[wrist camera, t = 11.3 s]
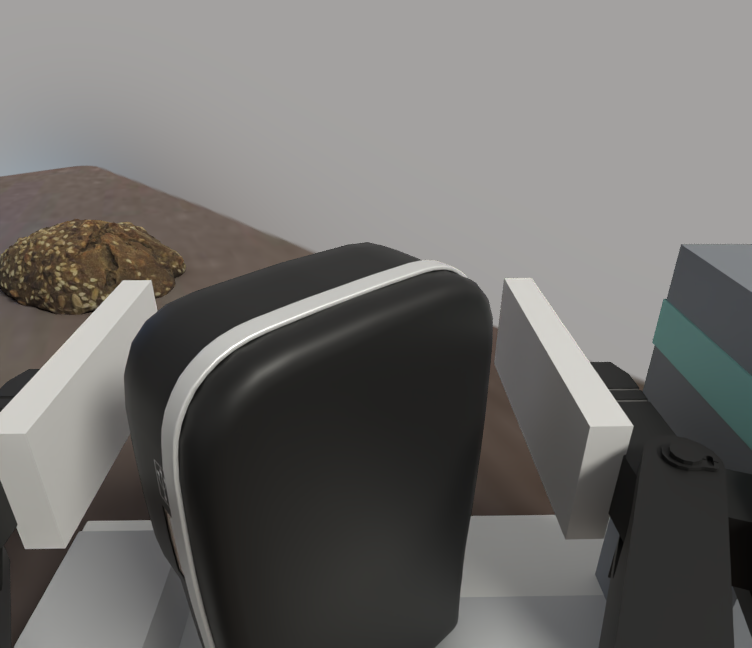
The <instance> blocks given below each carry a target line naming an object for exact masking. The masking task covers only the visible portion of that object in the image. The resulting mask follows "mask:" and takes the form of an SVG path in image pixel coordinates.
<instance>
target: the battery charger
mask: <svg viewBox="0 0 752 648" xmlns="http://www.w3.org/2000/svg"><path fill="white" fill-rule="evenodd" d="M492 320H493V318H492V313H491V309H490V304H489V300H488V298H487V297H486V295H485V294H484V293H483V291H482V290H481V289H480V288H479V286H478V285H477V284H476V283H475V282H474V281H472V280H470V279H468V278H467V276H466V275H464V273H462V272H461V271H460V270H458V269H456V268H454V267H452V266H450V265H447V264H444V263H442V262H439V261H434V260H420V259H418V258H415V257H413V256H410V255H408V254H405V253H403V252H400V251H397V250H394V249H391V248H388V247H385V246H382V245H377V244H372V243H368V242H366V243H359V244H350V245H345V246H341V247H338V248H334V249H330V250H326V251H323V252H319V253H315V254H312V255H308V256H304V257H301V258H297V259H293V260H290V261H286V262H282V263H279V264H276V265H273V266H270V267H267V268H264V269H261V270H258V271H255V272H252V273H249V274H246V275H243V276H240V277H237V278H234V279H231V280H228V281H225V282H222V283H219V284H216V285H213V286H210V287H207V288H204V289H201V290H198V291H195V292H192V293H190V294H188V295H186V296H184V297H181V298H179V299H177V300H175V301H173V302H170V303H168V304H166V305H165V306H164V307H162V308H161V309H160V310H159V311H157V312H156V313H155V314H154V315H152V316H151V317H150V318H149V319H147V320H146V321H145V323H144V324H143V326H142V327H141V329H140V330H139V332H138V333H137V335H136V336H135V338H134V339H133V341H132V343H131V347H130V351H129V355H128V359H127V363H126V367H125V372H124V391H125V408H126V414H127V419H128V424H129V429H130V434H131V439H132V444H133V449H134V453H135V458H136V463H137V467H138V472H139V476H140V480H141V485H142V489H143V493H144V498H145V501H146V505H147V508H148V512H149V516H150V519H151V523H152V526H153V530H154V534H155V537H156V539H157V541H158V544H159V546H160V548H161V550H162V552H163V554H164V556H165V557H166V559H167V560H168V562H169V563H170V565H171V566H172V568H173V569H174V571H175V572H176V573H177V575H178V576H179V578H180V579H181V583H182V586H183V589H184V592H185V596H186V599H187V602H188V605H189V608H190V611H191V615H192V618H193V621H194V624H195V627H196V630H197V633H198V636H199V639H200V642H201V645H202V647H203V648H435V647H436V646H437V645H438V644H439V643H440V642H441V641H442V640H443V639H444V638H445V637H446V636H447V635H448V634H449V633H450V632H452V631H453V629H454V628H455V627H456V625H457V623H458V616H459V603H460V591H461V583H462V574H463V564H464V556H465V549H466V542H467V536H468V530H469V524H470V518H471V512H472V505H473V499H474V492H475V486H476V479H477V473H478V466H479V459H480V452H481V444H482V437H483V429H484V421H485V412H486V403H487V393H488V383H489V373H490V363H491V352H492V331H493V321H492Z"/></svg>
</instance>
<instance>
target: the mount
mask: <svg viewBox="0 0 752 648" xmlns="http://www.w3.org/2000/svg"><path fill="white" fill-rule="evenodd" d="M653 344H654V345H655V346H654V350H653V354H652V358H651V362H650V366H649V369H648V373H647V377H646V381H645V385H644V388H643V393H644V394H645V396H646V397H647V398H648V402H651V403H652V405H653V406H654V407H655V409H656V410H657V411H658V412H659V414H660V415H661V416H662V418H663V419H664V420H665V421H666V423H667V424H668V425H669V427H670V428H671V429H672V430H673V432H674V433H675V434H676V436H678V437H684V438H687V439H690V440H693V441H695V442H698V443H700V444H702V445H704V446H705V447H707V448H709V449H710V450H712V451H713V452H714V453H715V454H716V455H717V456H718V457H719V458H720V459H721V460H722V461H723V464H724V466H725V468H726V469H730V470H733V471H738V472H743V473H748V474H752V244H681V247H680V251H679V255H678V258H677V262H676V266H675V270H674V274H673V278H672V282H671V285H670V289H669V293H668V297H667V299H664V300H663V303H662V308H661V311H660V315H659V319H658V323H657V327H656V331H655V335H654V338H653ZM618 538H619V533H618V531H617V529H616V527H615V525H614V523H613V521H612V519H611V518H609V521H608V525H607V529H606V533H605V537H604V539H570V540H565V538H564V535H563V533H562V530H561V528H560V525H559V523H558V520H557V518H556V515H514V516H471V518H470V524H469V530H468V536H467V542H466V549H465V556H464V564H463V574H462V583H461V591H460V603H459V616H458V623H457V625H456V627H455V628H454V629H453V631H452V632H450V633H449V634H448V635H447V636H446V637H445V638H444V639H443V640H442V641H441V642H440V643H439V644H438V645H437V646H436V647H435V648H599V642H600V636H601V630H602V624H603V618H604V613H605V607H606V601H607V595H608V589H609V584H610V578H609V577H608V574H609V571H610V567H611V563H612V560H613V556H614V553H615V549H616V545H617V542H618ZM732 606H733V627H734V648H752V637H751V634H750V632H749V629H748V626H747V624H746V621H745V618H744V615H743V613H742V610H741V607H740V604H739V602H738V599H737V596H736V594H735V591H734V588H733V586H732ZM14 648H203V647H202V645H201V642H200V639H199V636H198V633H197V630H196V627H195V624H194V621H193V618H192V615H191V611H190V608H189V605H188V602H187V599H186V596H185V592H184V589H183V586H182V583H181V579H180V578H179V576H178V575H177V573H176V572H175V571H174V569H173V568H172V566H171V565H170V563H169V562H168V560H167V559H166V557H165V556H164V554H163V552H162V550H161V548H160V546H159V544H158V541H157V539H156V537H155V534H154V530H153V526H152V523H151V520H126V521H88V522H87V523H86V525H85V527H84V529H83V530H82V531H79V532H78V534H77V536H76V538H75V540H74V541H73V543H72V545H71V547H70V548H69V550H68V552H67V554H66V556H65V557H64V559H63V561H62V563H61V564H60V566H59V568H58V570H57V571H56V573H55V575H54V577H53V579H52V580H51V582H50V584H49V586H48V587H47V589H46V591H45V593H44V595H43V596H42V598H41V600H40V602H39V603H38V605H37V607H36V609H35V611H34V612H33V614H32V616H31V618H30V619H29V621H28V623H27V625H26V626H25V628H24V630H23V632H22V634H21V635H20V637H19V639H18V641H17V642H16V644H15V646H14Z"/></svg>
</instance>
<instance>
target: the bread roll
mask: <svg viewBox="0 0 752 648" xmlns="http://www.w3.org/2000/svg"><path fill="white" fill-rule="evenodd" d="M185 269H186V265H185V264H184V260H183V258H182V256H180V254H178V253H177V252H176V251H175V250H172V249H170V248H169V247H167V246H165V245H163V244H161V242H160V241H159V240H156V239H155V238H154V237H153V236H151V235H149V234H148V233H147V231H146V230H145V229H143V228H142V227H138V226H134V225H133V224H132V223H130V222H122V223H118V224H116V223H110V222H105V221H101V220H86V219H85V220H79V219H74V220H72V221H67V222H64V223H60V224H57V225H54V226H52V227H46V228H43V229H40V230H38V231H36V232H35V233H32V234H31V235H30V236H29V237H24V238H19V239H17V242H16V243H15V244H14V245H13V246H10V247H9V249H6V250H5V252H4V253H2V254H1V258H0V287H1V289H2V291H3V292H4V293H5V294H8V295H9V296H11V297H12V298H15V299H16V300H17V301H18V303H19V304H21V305H24V306H34V307H39V308H41V309H44V310H47V311H51V312H53V313H55V314H69V315H76V314H83V313H87V312H89V311H92V310H95V309H97V308H98V307H99V306H100V305H101V304H102V302H103V301H104V300H105V299H106V298H107V297H108V296H109V295H110V294H111V293H112V292H113V291H114V290H115V289H116V287H117V286H118V285H119V284H120V283H121V282H122V281H123V280H152V286H153V291H154V296H155V299H156V298H159V297H162V296H164V295H166V294H167V293H169V292H170V291H171V290H172V289H173V288H174V286H175V279H174V278H176V277H179V276H180V275H182V274H183V273H184V272H185Z"/></svg>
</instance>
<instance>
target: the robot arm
mask: <svg viewBox="0 0 752 648" xmlns="http://www.w3.org/2000/svg"><path fill="white" fill-rule="evenodd" d="M156 312H157V307H156V301H155V296H154V291H153V286H152V280H123V281H122V282H121V283H120V284H119V285H118V286H117V287H116V289H115V290H114V291H113V292H112V293H111V294H110V295H109V296H108V297H107V298H106V299H105V300H104V301H103V302H102V304H101V305H100V306H99V307H98V308H97V309H96V310H95V311H94V312H93V313H92V314H91V315H90V316H89V318H88V319H87V320H86V321H85V322H84V323H83V324H82V325H81V326H80V327H79V328H78V329H77V330H76V331H75V333H74V334H73V335H72V336H71V337H70V338H69V339H68V340H67V341H66V342H65V343H64V344H63V345H62V346H61V348H60V349H59V350H58V351H57V352H56V353H55V354H54V355H53V356H52V357H51V358H50V359H49V360H48V362H47V363H46V364H45V365H44V366H43V367H42V368H41V369H28V370H27V371H25V372H23V373H21V374H20V375H18V376H16V377H15V378H13V379H11V380H9V381H8V382H6V383H5V384H4V385H3V386H2V387H1V388H0V648H11V600H10V560H9V557H8V554H7V552H6V549H5V547H4V544H5V543H6V541H7V540H8V538H9V537H10V535H11V534H12V532H13V531H14V529H15V528H17V530H18V533H19V535H20V538H21V540H22V543H23V545H24V548H25V549H58V548H66V546H67V545H68V543H69V541H70V539H71V538H72V536H73V534H74V532H75V530H76V529H77V527H78V525H79V523H80V522H81V520H82V518H83V516H84V515H85V513H86V511H87V509H88V507H89V506H90V504H91V502H92V500H93V499H94V497H95V495H96V493H97V491H98V490H99V488H100V486H101V484H102V483H103V481H104V479H105V477H106V475H107V474H108V472H109V470H110V468H111V467H112V465H113V463H114V461H115V459H116V458H117V456H118V454H119V452H120V451H121V449H122V447H123V445H124V444H125V442H126V440H127V438H128V436H129V435H130V429H129V424H128V419H127V414H126V408H125V391H124V372H125V367H126V363H127V359H128V355H129V351H130V347H131V343H132V341H133V339H134V338H135V336H136V335H137V333H138V332H139V330H140V329H141V327H142V326H143V324H144V323H145V321H146V320H147V319H149V318H150V317H151V316H152V315H154V314H155V313H156ZM494 364H495V367H496V369H497V371H498V374H499V376H500V379H501V381H502V384H503V386H504V389H505V391H506V394H507V396H508V399H509V401H510V404H511V406H512V409H513V411H514V414H515V416H516V419H517V421H518V424H519V426H520V428H521V431H522V433H523V436H524V438H525V441H526V443H527V446H528V448H529V451H530V453H531V456H532V458H533V461H534V463H535V466H536V468H537V471H538V473H539V476H540V478H541V481H542V483H543V486H544V488H545V490H546V493H547V495H548V498H549V500H550V503H551V505H552V508H553V510H554V513H555V515H556V518H557V520H558V523H559V525H560V528H561V530H562V533H563V535H564V538H565V540H570V539H604V537H605V533H606V529H607V525H608V521H609V518H611V519H612V521H613V523H614V525H615V527H616V529H617V531H618V533H619V538H618V542H617V545H616V549H615V553H614V556H613V560H612V563H611V567H610V571H609V574H608V577H609V578H610V584H609V589H608V595H607V601H606V607H605V613H604V618H603V624H602V630H601V636H600V642H599V648H734V627H733V606H732V586H733V588H734V591H735V594H736V596H737V599H738V602H739V604H740V607H741V610H742V613H743V615H744V618H745V621H746V624H747V626H748V629H749V632H750V634H751V637H752V474H748V473H743V472H738V471H733V470H730V469H726V468H725V466H724V464H723V461H722V460H721V459H720V458H719V457H718V456H717V455H716V454H715V453H714V452H713V451H712V450H710V449H709V448H707V447H705V446H704V445H702V444H700V443H698V442H695V441H693V440H690V439H687V438H684V437H678V436H676V434H675V433H674V432H673V430H672V429H671V428H670V427H669V425H668V424H667V423H666V421H665V420H664V419H663V418H662V416H661V415H660V414H659V412H658V411H657V410H656V409H655V407H654V406H653V405H652V403H651V402H648V398H647V397H646V396H645V394H644V393H643V392H642V391H641V390H639V387H638V385H637V384H636V383H635V382H634V380H633V379H632V378H631V376H630V375H629V374H628V373H626V372H625V371H623V370H622V369H620V368H619V367H617V366H616V365H614V364H613V363H611V362H589V361H588V359H587V358H586V356H585V355H584V353H583V352H582V351H581V349H580V348H579V346H578V345H577V343H576V342H575V340H574V339H573V337H572V336H571V334H570V333H569V332H568V330H567V329H566V327H565V326H564V324H563V323H562V321H561V320H560V319H559V317H558V316H557V314H556V313H555V311H554V310H553V308H552V307H551V305H550V304H549V303H548V301H547V300H546V298H545V297H544V295H543V294H542V292H541V291H540V290H539V288H538V287H537V285H536V284H535V282H534V281H533V279H532V278H504V285H503V294H502V302H501V310H500V319H499V327H498V335H497V344H496V352H495V361H494Z"/></svg>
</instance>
